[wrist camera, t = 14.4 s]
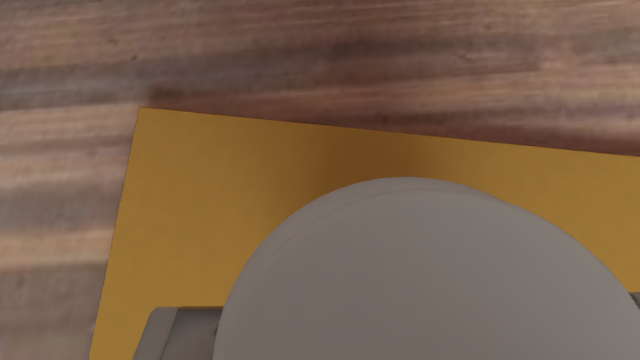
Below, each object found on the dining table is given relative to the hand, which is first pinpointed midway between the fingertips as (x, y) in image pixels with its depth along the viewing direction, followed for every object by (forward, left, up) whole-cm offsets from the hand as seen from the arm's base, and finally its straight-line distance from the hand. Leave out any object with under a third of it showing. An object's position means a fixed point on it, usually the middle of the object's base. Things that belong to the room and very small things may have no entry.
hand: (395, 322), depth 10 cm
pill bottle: (0, -1, -6) cm, 6 cm away
